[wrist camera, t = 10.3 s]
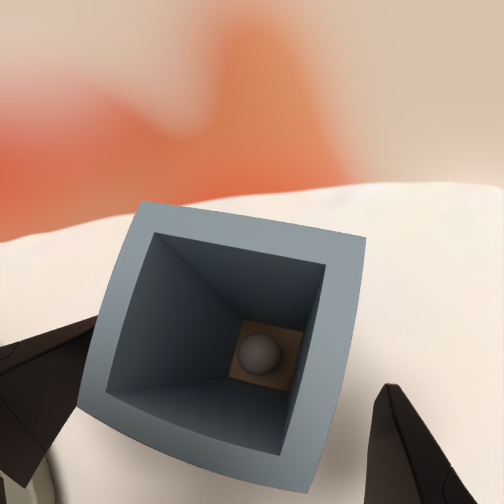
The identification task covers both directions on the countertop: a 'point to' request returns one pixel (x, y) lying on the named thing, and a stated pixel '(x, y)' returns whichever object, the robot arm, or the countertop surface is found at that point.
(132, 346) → the sleeve
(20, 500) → the cake pan
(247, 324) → the pin base
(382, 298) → the countertop surface
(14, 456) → the robot arm
